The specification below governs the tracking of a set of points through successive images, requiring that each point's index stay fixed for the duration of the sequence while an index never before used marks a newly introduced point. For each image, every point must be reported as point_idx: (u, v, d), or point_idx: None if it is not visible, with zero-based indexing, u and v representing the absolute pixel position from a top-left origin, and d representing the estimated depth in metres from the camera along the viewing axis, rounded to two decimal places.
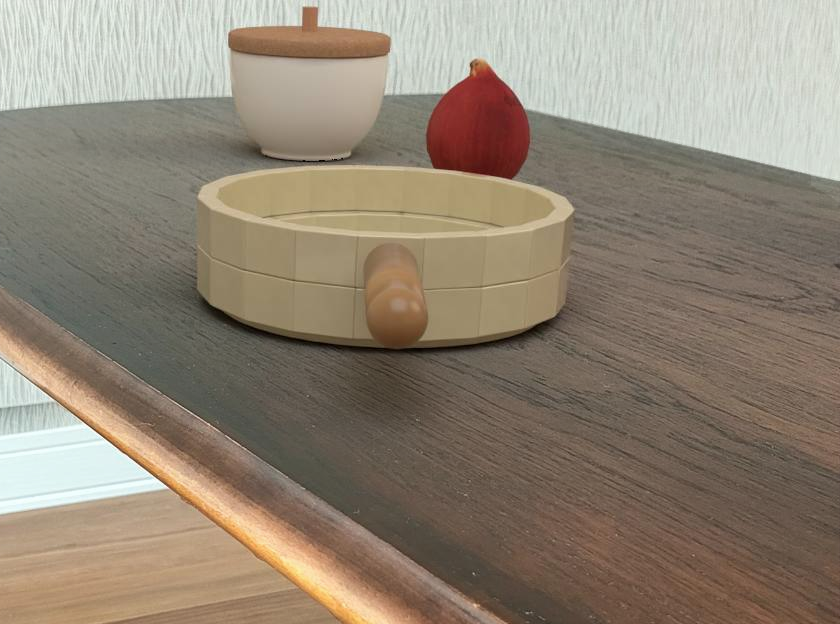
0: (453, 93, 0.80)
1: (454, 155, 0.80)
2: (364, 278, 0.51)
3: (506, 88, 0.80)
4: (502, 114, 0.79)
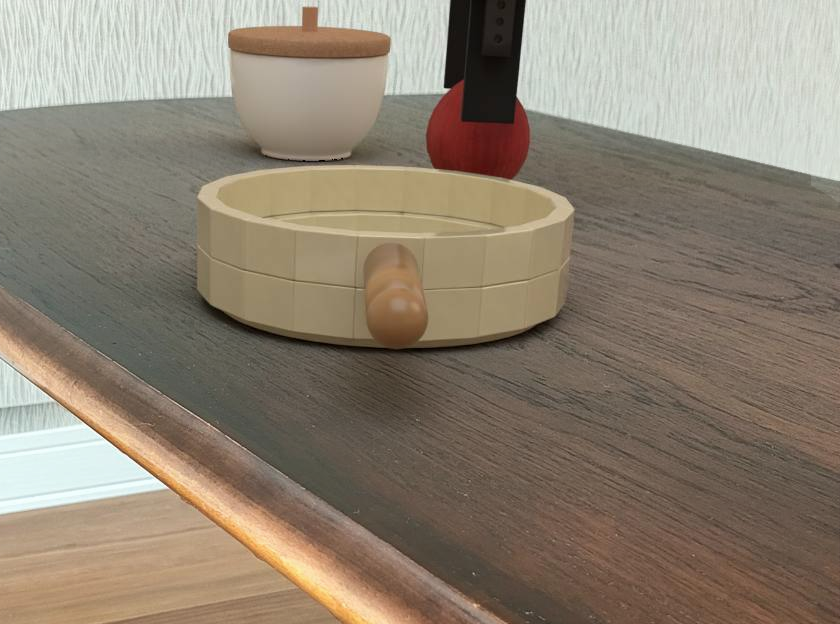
0: (453, 93, 0.80)
1: (453, 155, 0.80)
2: (364, 278, 0.51)
3: None
4: None
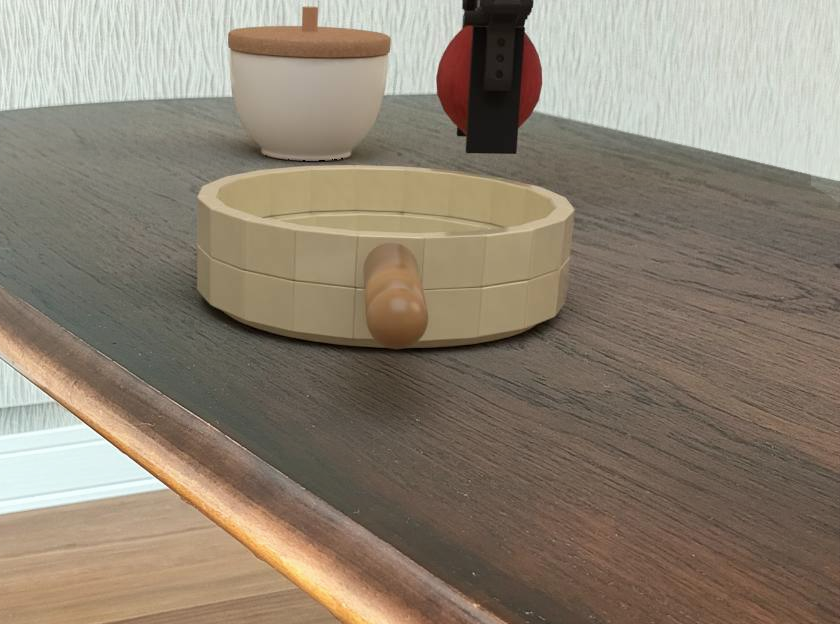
0: (463, 34, 0.79)
1: (465, 96, 0.79)
2: (364, 278, 0.51)
3: None
4: None
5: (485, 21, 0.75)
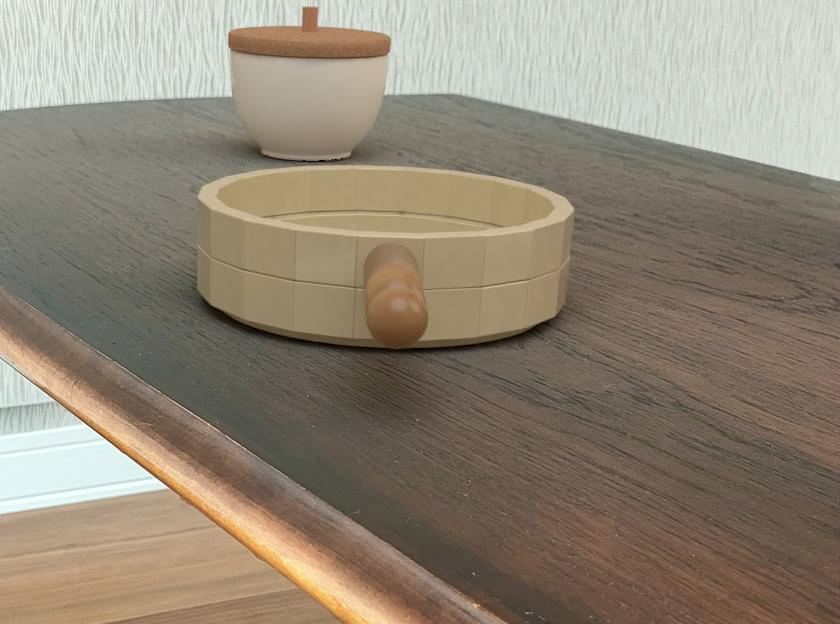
0: None
1: None
2: (364, 278, 0.51)
3: None
4: None
5: None
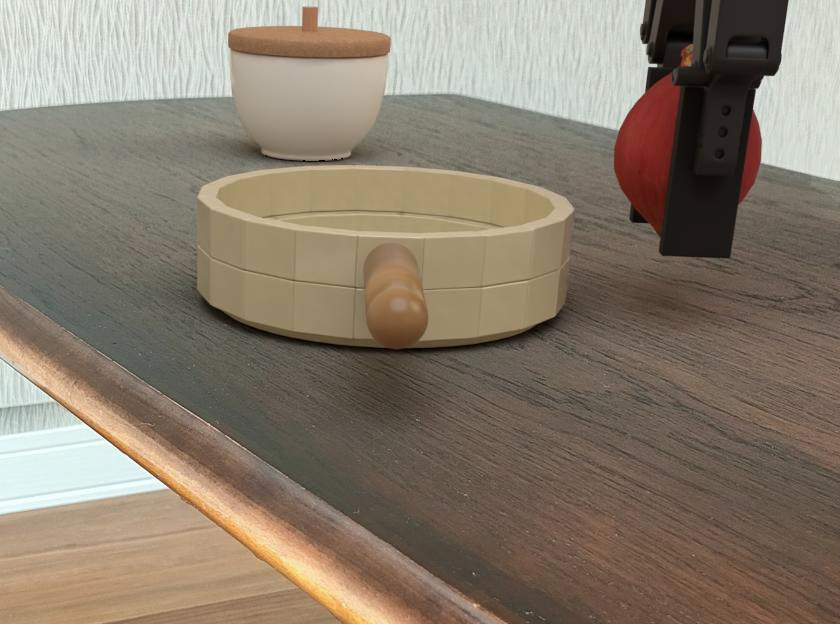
0: (659, 92, 0.58)
1: (660, 177, 0.58)
2: (364, 278, 0.51)
3: None
4: None
5: (705, 81, 0.54)
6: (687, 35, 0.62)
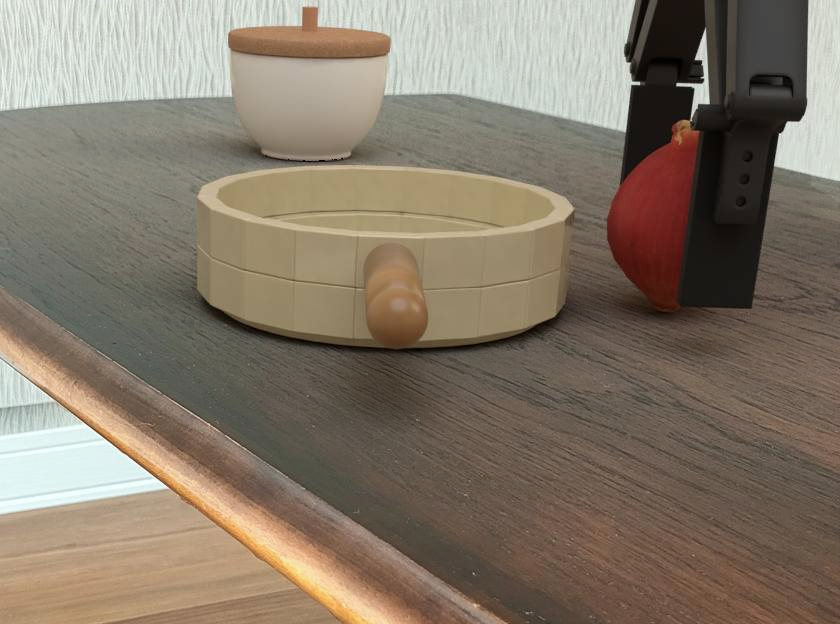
0: (650, 166, 0.59)
1: (652, 251, 0.59)
2: (364, 278, 0.51)
3: None
4: None
5: (728, 120, 0.51)
6: None
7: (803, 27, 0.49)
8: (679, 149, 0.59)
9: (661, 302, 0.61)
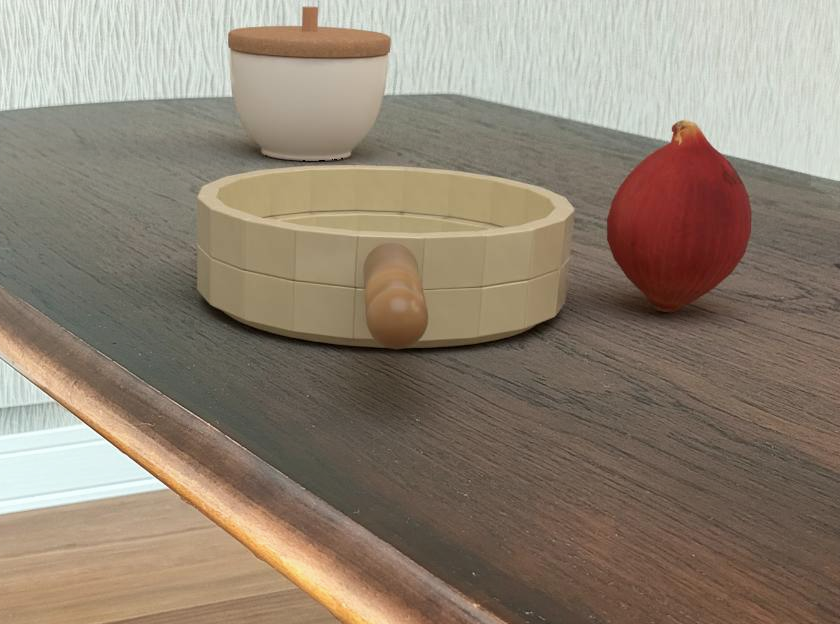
0: (650, 166, 0.59)
1: (652, 251, 0.59)
2: (364, 278, 0.51)
3: (723, 159, 0.59)
4: (720, 196, 0.58)
5: None
6: None
7: None
8: (679, 149, 0.59)
9: (661, 302, 0.61)
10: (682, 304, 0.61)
